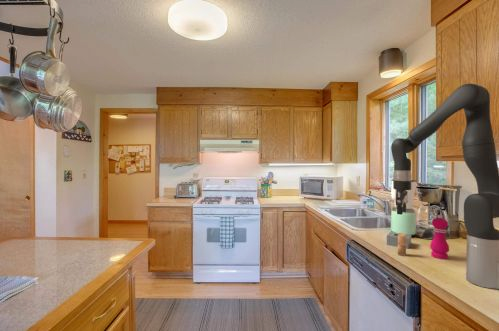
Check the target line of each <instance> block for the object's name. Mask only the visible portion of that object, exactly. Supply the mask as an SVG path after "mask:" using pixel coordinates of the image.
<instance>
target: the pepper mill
mask: <svg viewBox="0 0 499 331" xmlns="http://www.w3.org/2000/svg"><path fill="white" fill-rule="evenodd" d="M431 225H432V226H433V229H432V230H433V232H434V233H433V234H434V235H433V238H432V240H431V242H430V244H429V247H430V249H431V253H430V256H431V257H433V258H436V259H438V258H439V259H440V260H447V259H449V255H448V253H449V252H450V247H449V244H448V242H447V240H446V233H447V228H448V227H449V223H448V221H447V220H446V219H445V218H443V215H441V214H438V215H437V217H436V218H434V219H432V222H431Z"/></svg>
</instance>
